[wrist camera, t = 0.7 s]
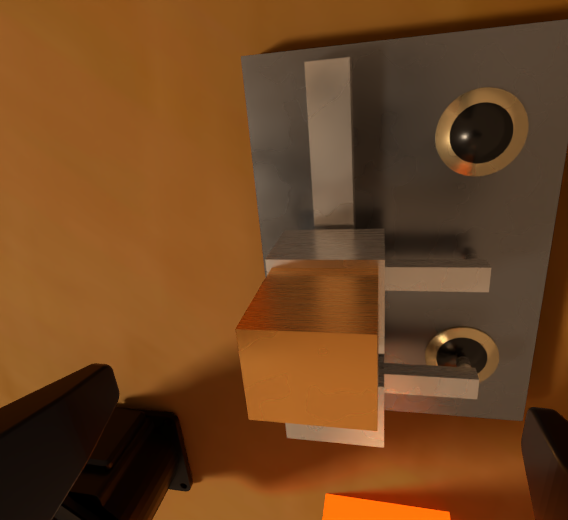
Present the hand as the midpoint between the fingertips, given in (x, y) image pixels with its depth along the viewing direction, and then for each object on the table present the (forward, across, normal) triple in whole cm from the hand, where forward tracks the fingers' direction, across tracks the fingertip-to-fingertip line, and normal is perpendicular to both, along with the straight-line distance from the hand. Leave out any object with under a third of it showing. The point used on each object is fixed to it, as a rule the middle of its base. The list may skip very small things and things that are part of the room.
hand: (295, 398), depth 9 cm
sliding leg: (+10, -2, +1) cm, 10 cm away
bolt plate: (+12, -2, +1) cm, 12 cm away
